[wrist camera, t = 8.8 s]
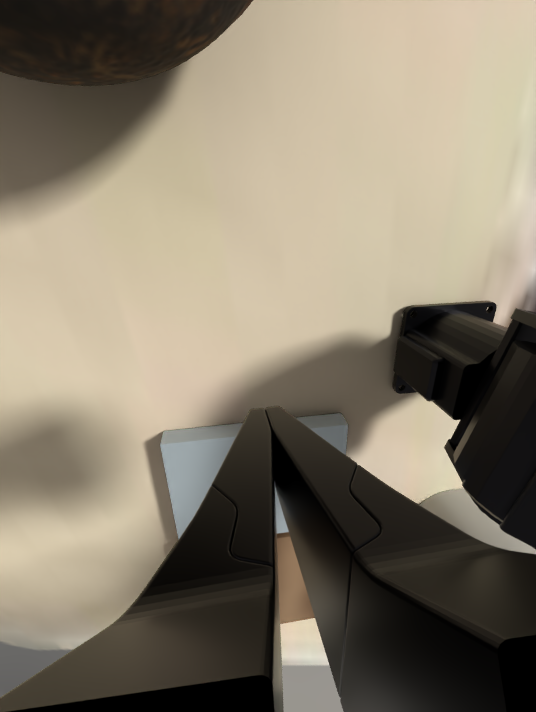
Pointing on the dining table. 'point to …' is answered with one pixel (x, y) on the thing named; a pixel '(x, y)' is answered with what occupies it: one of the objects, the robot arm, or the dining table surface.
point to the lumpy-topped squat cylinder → (472, 519)
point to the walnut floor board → (291, 583)
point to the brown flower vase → (107, 37)
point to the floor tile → (221, 461)
